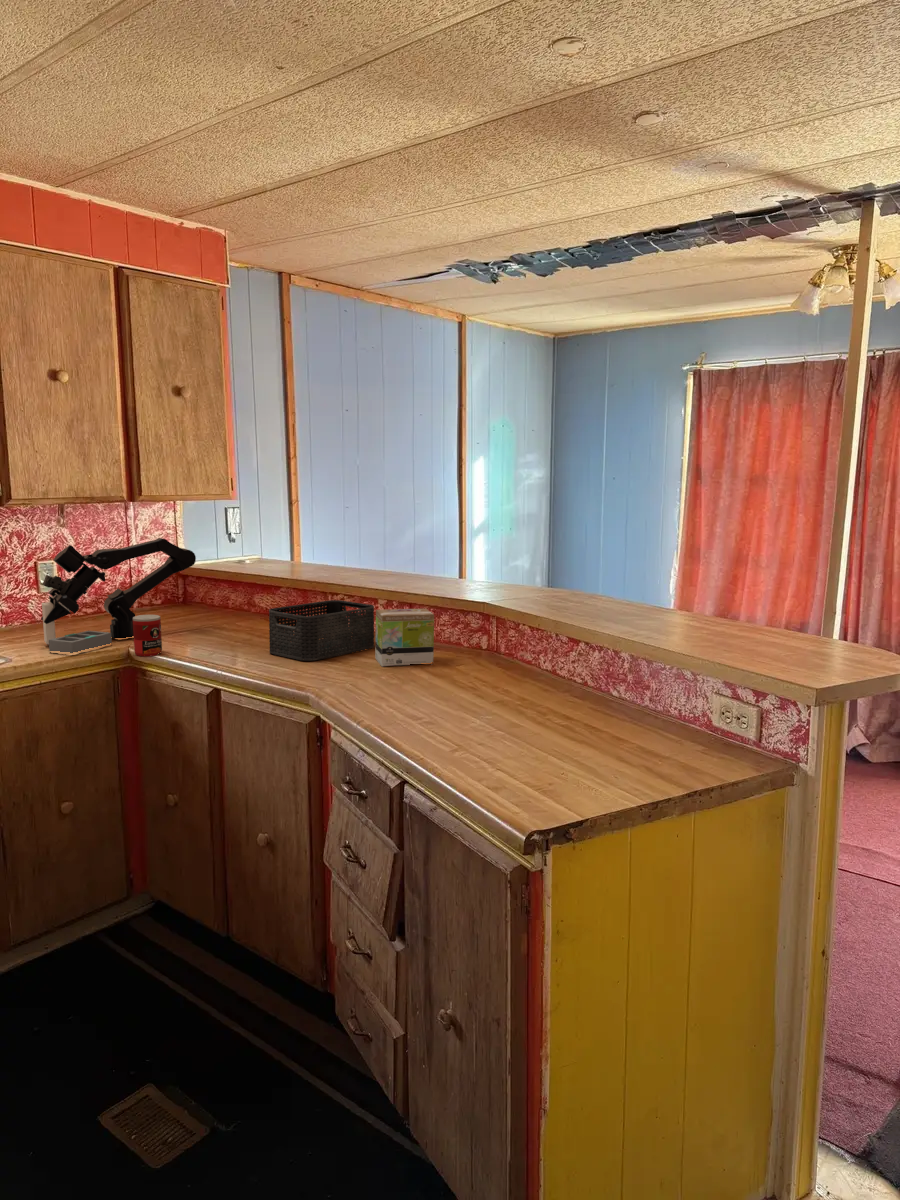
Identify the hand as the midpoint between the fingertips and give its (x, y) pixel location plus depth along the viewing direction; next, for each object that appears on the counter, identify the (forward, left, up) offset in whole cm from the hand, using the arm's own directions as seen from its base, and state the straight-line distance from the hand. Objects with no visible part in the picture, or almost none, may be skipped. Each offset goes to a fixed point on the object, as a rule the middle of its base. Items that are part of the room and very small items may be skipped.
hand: (43, 621), depth 251 cm
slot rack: (-6, +11, -8) cm, 15 cm away
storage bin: (-59, +61, -8) cm, 85 cm away
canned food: (-18, +30, -8) cm, 36 cm away
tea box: (-66, +89, -8) cm, 112 cm away
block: (-1, 0, -7) cm, 7 cm away
